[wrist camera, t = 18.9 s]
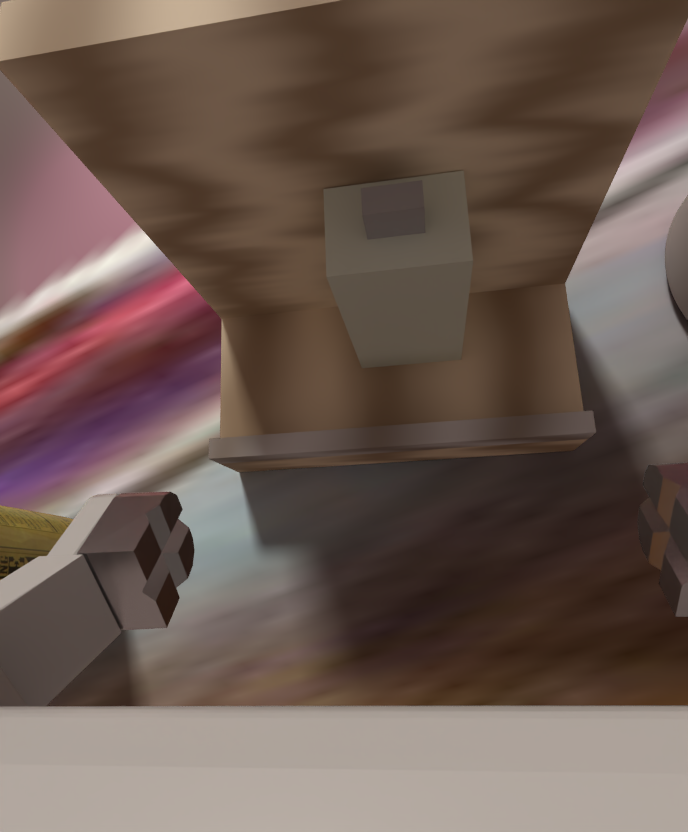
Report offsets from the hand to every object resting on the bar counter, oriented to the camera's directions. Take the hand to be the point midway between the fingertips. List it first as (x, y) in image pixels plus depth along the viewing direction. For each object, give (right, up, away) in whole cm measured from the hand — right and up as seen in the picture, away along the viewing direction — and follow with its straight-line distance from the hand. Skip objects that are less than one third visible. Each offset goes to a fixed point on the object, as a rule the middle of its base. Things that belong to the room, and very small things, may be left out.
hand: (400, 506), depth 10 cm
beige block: (+2, +6, +20) cm, 21 cm away
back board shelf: (+2, +4, +22) cm, 23 cm away
